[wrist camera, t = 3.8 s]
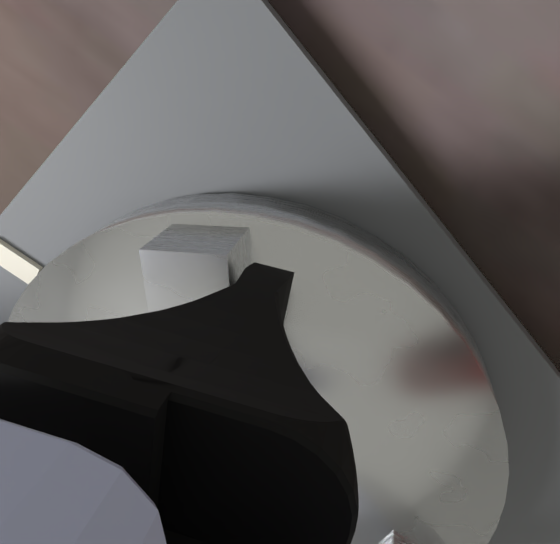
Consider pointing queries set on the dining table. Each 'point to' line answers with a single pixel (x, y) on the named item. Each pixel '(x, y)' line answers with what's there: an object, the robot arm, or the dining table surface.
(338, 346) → the round dial
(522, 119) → the dining table surface
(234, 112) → the slate base plate
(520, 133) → the dining table surface
